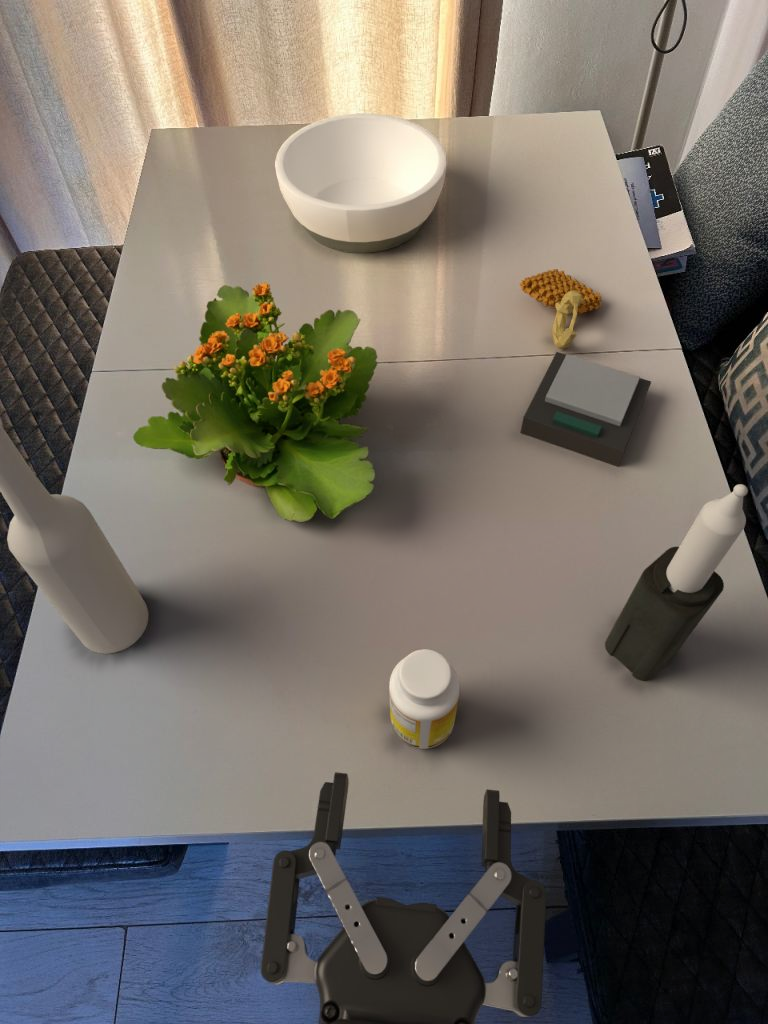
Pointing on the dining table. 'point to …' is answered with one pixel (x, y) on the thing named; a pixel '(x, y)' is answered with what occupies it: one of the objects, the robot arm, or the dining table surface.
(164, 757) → the dining table surface
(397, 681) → the supplement bottle
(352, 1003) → the robot arm
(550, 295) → the ornament
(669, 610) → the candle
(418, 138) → the bowl
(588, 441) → the scale
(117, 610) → the bottle
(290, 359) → the potted flower
